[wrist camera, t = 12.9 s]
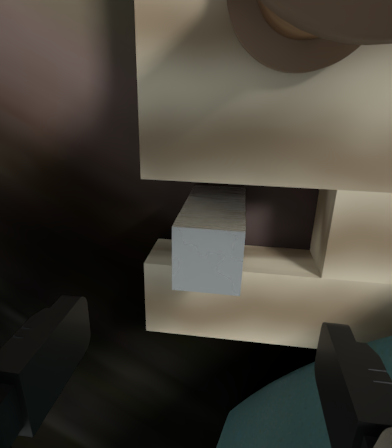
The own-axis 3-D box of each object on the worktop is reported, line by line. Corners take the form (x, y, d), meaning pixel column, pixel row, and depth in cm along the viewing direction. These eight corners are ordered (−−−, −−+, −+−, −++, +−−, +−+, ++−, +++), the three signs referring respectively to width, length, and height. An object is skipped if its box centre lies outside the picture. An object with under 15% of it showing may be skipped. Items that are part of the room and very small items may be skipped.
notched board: (150, -173, 17) (125, -246, 14) (495, -196, 15) (574, -287, 12) (159, 298, 27) (146, 330, 24) (368, 318, 26) (389, 356, 22)
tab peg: (193, 231, 25) (171, 289, 18) (194, 184, 24) (171, 226, 16) (241, 234, 25) (240, 296, 17) (245, 187, 23) (245, 231, 16)
